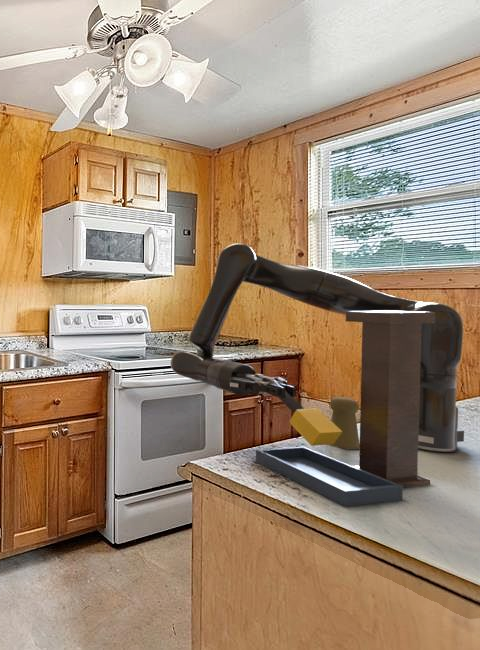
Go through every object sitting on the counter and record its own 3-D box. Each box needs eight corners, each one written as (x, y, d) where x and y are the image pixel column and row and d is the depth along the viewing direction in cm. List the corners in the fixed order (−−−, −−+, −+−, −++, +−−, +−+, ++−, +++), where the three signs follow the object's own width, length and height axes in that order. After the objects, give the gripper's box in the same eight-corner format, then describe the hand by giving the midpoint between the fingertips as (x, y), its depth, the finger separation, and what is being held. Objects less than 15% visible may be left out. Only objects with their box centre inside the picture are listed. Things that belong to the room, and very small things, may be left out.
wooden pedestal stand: (384, 468, 86) (388, 310, 85) (430, 485, 78) (435, 312, 77) (342, 471, 84) (345, 311, 83) (385, 489, 76) (389, 312, 75)
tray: (302, 457, 92) (303, 446, 92) (402, 500, 73) (403, 486, 72) (255, 461, 90) (255, 449, 90) (345, 506, 71) (345, 491, 70)
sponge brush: (276, 387, 95) (282, 375, 93) (333, 444, 81) (342, 431, 79) (256, 387, 94) (262, 375, 92) (311, 445, 80) (319, 433, 79)
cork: (347, 440, 102) (348, 395, 102) (366, 449, 96) (368, 401, 96) (321, 439, 103) (322, 394, 103) (338, 448, 97) (339, 401, 97)
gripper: (205, 362, 104) (260, 375, 87) (255, 360, 106) (318, 373, 89) (205, 392, 104) (259, 412, 87) (254, 390, 107) (317, 409, 89)
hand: (289, 392), depth 88 cm, fingers closed on sponge brush, 2 cm apart
